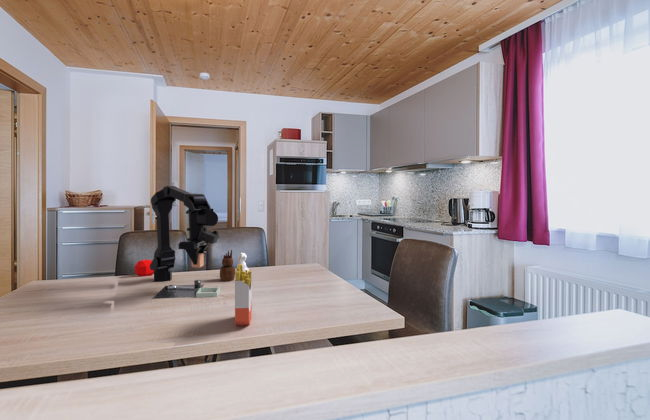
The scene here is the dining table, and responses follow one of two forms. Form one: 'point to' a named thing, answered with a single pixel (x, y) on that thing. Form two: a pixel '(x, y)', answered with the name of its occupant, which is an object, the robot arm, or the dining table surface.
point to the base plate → (176, 292)
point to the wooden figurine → (227, 268)
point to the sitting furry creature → (242, 262)
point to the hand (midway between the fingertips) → (197, 263)
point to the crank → (196, 287)
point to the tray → (208, 289)
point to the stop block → (199, 260)
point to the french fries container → (243, 296)
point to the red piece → (143, 268)
